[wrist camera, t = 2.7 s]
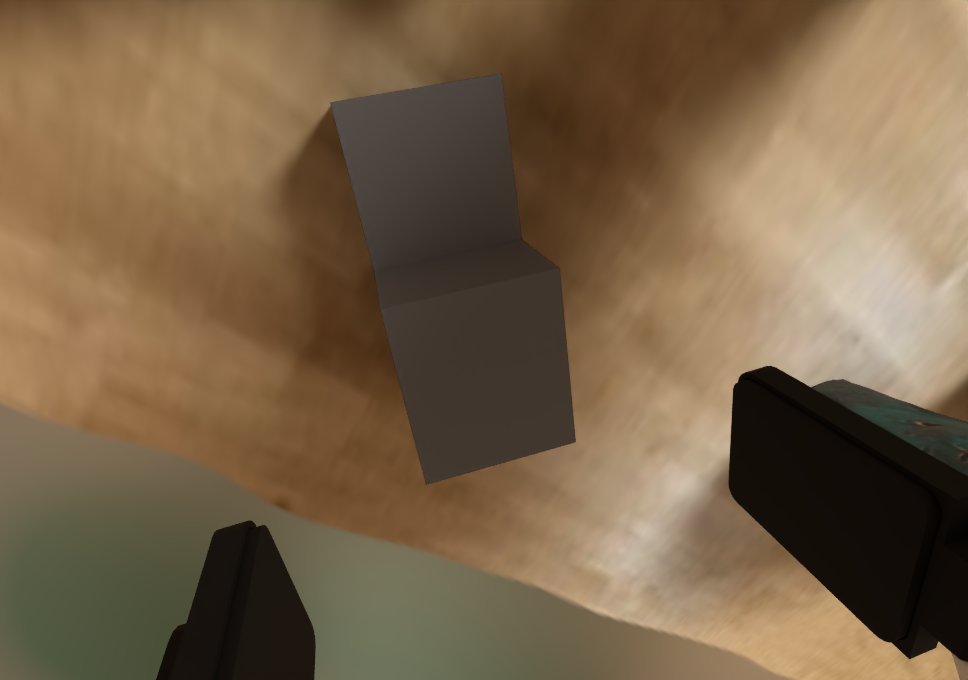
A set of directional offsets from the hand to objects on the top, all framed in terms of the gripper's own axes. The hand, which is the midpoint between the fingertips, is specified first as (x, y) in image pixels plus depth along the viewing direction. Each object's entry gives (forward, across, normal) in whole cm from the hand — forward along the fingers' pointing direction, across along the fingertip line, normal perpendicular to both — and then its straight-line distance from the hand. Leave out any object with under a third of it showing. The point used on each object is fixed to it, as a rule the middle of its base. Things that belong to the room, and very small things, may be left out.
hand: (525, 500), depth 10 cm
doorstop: (+12, -1, -2) cm, 13 cm away
